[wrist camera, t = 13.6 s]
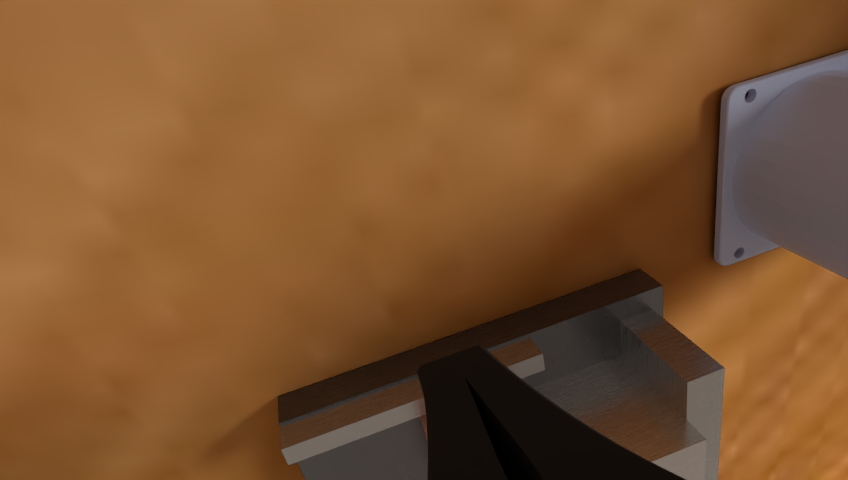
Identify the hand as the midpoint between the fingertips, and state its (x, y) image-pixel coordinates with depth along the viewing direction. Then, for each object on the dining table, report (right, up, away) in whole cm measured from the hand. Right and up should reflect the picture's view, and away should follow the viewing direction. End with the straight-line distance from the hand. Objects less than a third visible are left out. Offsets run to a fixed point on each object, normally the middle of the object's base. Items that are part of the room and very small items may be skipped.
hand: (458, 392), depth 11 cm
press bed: (+2, -5, +14) cm, 15 cm away
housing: (+6, -5, +13) cm, 15 cm away
